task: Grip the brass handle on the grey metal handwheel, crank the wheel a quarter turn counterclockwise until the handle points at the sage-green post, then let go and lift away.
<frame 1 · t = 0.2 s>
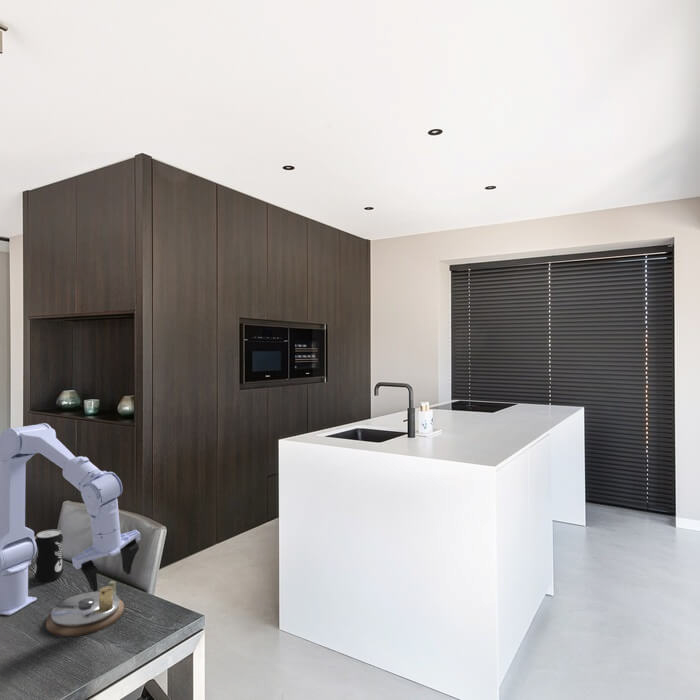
hand: (110, 580, 119), 9 cm above the table, tool pointing down, fingers open, 7 cm apart
beverage can: (48, 578, 140), on the table
wheel base: (86, 616, 120), on the table
handwheel: (86, 598, 120), point 4 cm above the table, hinge at 0.0°
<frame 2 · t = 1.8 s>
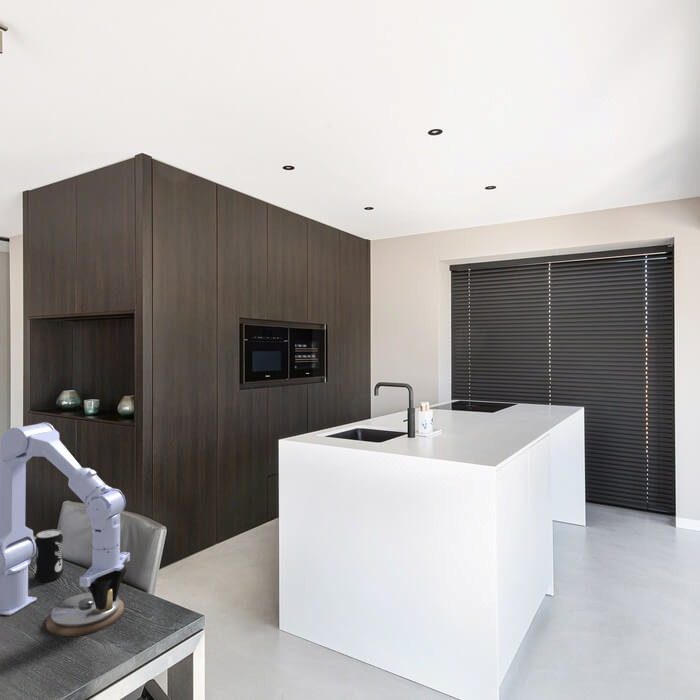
hand: (105, 604, 119), 3 cm above the table, tool pointing down, fingers closed on handwheel, 3 cm apart
handwheel: (86, 598, 120), point 4 cm above the table, hinge at 0.0°, touching gripper
everything else where it was.
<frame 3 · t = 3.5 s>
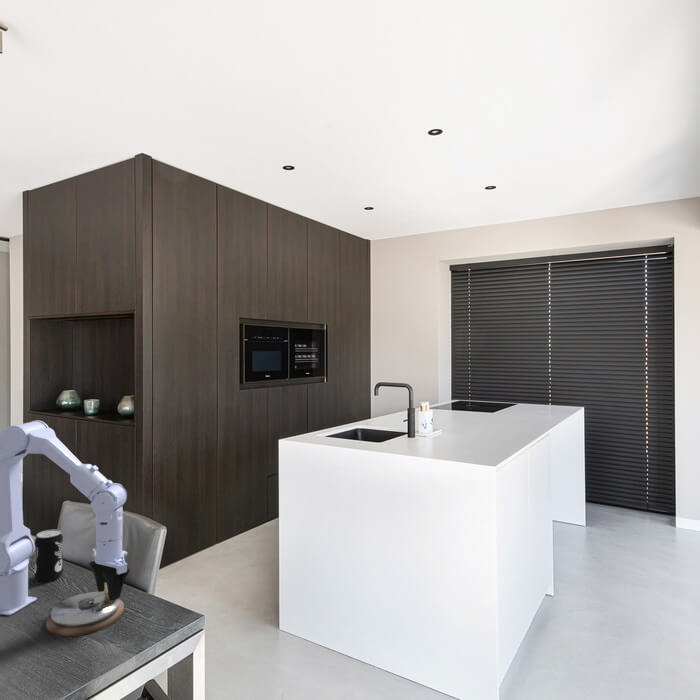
hand: (108, 594, 123), 3 cm above the table, tool pointing down, fingers open, 6 cm apart
handwheel: (86, 598, 120), point 4 cm above the table, hinge at 41.6°, touching gripper
everything else where it was.
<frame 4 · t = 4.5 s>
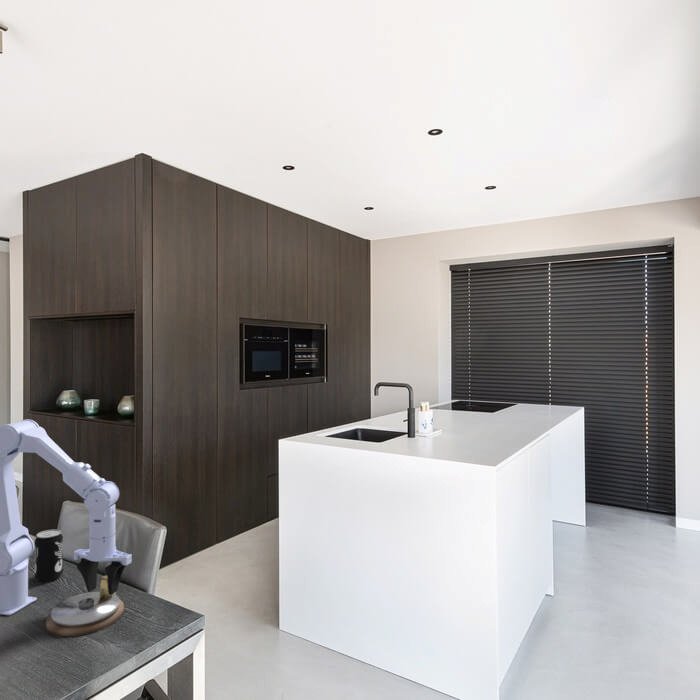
hand: (102, 591, 125), 3 cm above the table, tool pointing down, fingers open, 5 cm apart
handwheel: (86, 598, 120), point 4 cm above the table, hinge at 73.7°, touching gripper
everything else where it was.
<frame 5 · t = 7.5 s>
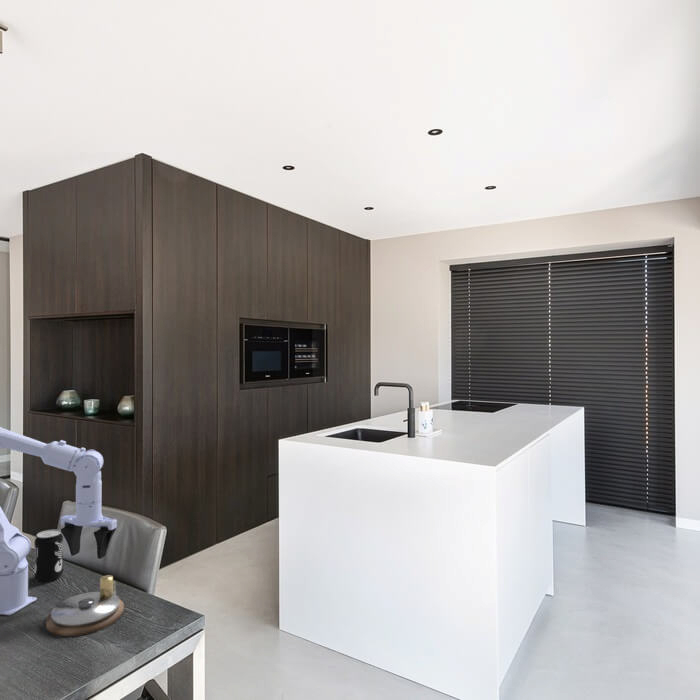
hand: (88, 555, 129), 10 cm above the table, tool pointing down, fingers open, 7 cm apart
handwheel: (86, 598, 120), point 4 cm above the table, hinge at 73.7°
everything else where it was.
at the end: handwheel at +74° (first picture: +0°); the gripper is holding nothing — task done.
